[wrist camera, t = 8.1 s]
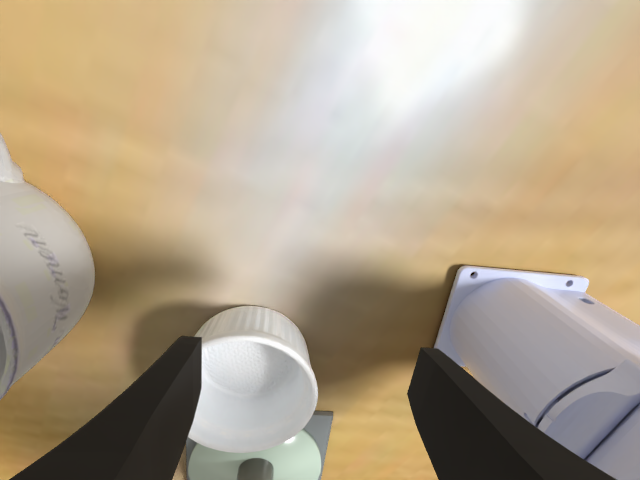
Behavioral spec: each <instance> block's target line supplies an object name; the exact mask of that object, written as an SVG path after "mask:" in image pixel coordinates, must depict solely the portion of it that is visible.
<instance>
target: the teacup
mask: <svg viewBox="0 0 640 480" xmlns="http://www.w3.org/2000/svg"><path fill="white" fill-rule="evenodd" d="M94 283H95V268H94V262H93V257H92V253H91V250H90V247H89V245H88V243H87V240H86V238H85V236H84V235H83V233H82V231H81V229H80V228H79V226H78V225H77V224H76V222H75V221H74V220H73V219H72V217H71V216H70V215H69V214H68V213H67V212H66V211H65V210H64V209H63V208H62V207H61V206H60V205H59V204H58V203H57V202H56V201H55V200H53V199H52V198H51V197H49V196H48V195H47V194H45V193H44V192H42V191H41V190H39V189H38V188H36V187H35V186H33V185H31V184H29V183H27V182H25V181H24V179H23V172H22V170H21V168H20V167H19V166H18V165H17V164H16V163H15V162H13V161H12V159H11V156H10V153H9V150H8V148H7V146H6V143H5V141H4V139H3V137H2V135H1V133H0V400H1V399H2V398H3V397H4V395H5V394H6V393H7V391H8V390H9V389H10V387H11V386H12V385H13V384H14V383H15V382H16V381H17V380H19V379H20V378H21V377H22V376H23V375H24V374H25V373H27V372H28V371H29V370H30V369H31V368H32V367H33V366H35V365H36V364H37V363H38V362H39V361H40V360H41V359H42V358H43V357H44V356H45V355H46V354H47V353H48V352H49V351H50V350H52V349H53V348H54V347H55V346H56V345H57V344H58V343H59V342H60V341H61V340H62V339H63V338H64V337H65V336H66V335H67V334H68V333H69V332H70V331H71V329H72V328H73V327H74V326H75V325H76V323H77V322H78V321H79V320H80V318H81V317H82V315H83V314H84V312H85V310H86V308H87V307H88V304H89V302H90V299H91V297H92V294H93V289H94Z"/></svg>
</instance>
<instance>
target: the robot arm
mask: <svg viewBox="0 0 640 480" xmlns="http://www.w3.org/2000/svg"><path fill="white" fill-rule="evenodd" d="M472 272H475V273H474V275H472V276H470V274H471V273H472ZM567 281H568V282H567ZM566 282H567V283H566ZM588 285H589V280H588V279H587V278H585V277H583V276H576V275H566V274H555V273H544V272H533V271H522V270H511V269H500V268H489V267H478V266H467V265H466V266H462V267H460V268H459V269H458V271H457V274H456V277H455V281H454V284H453V287H452V290H451V294H450V297H449V300H448V303H447V307H446V310H445V313H444V316H443V320H442V323H441V326H440V329H439V333H438V336H437V339H436V342H435V346H434V348H421V349H420V352H419V356H418V359H417V362H416V366H415V369H414V373H413V376H412V379H411V383H410V386H409V390H408V393H407V394H408V398H409V402H410V406H411V409H412V413H413V416H414V420H415V423H416V426H417V428H418V431H419V433H420V436H421V438H422V441H423V443H424V446H425V448H426V451H427V453H428V455H429V458H430V460H431V462H432V465H433V467H434V470H435V472H436V474H437V477H438V479H439V480H640V326H639V325H638V324H636V323H634V322H633V321H631V320H629V319H628V318H626V317H624V316H623V315H621V314H619V313H618V312H616V311H614V310H613V309H611V308H609V307H608V306H606V305H604V304H603V303H601V302H599V301H598V300H596V299H595V298H593V297H591V296H590V295H588V294H586V293H585V291H586V289H587V287H588ZM460 366H464V367H467V368H468V369H469V371H470V372H471V374H472V375H473V376H474V378H473V377H472V376H471V375H470V374H469V373H467V372H466V371H465V370H464V369H463V368H462V367H460ZM201 388H202V337H188V336H181V337H180V338H178V339H177V340H176V341H175V342H174V343H173V344H172V345H171V347H170V348H169V349H168V350H167V351H166V352H165V353H164V354H163V355H162V356H161V357H160V358H159V359H158V360H157V361H156V362H155V363H154V364H153V365H152V366H151V367H150V368H149V369H148V370H147V371H146V372H145V373H143V374H142V375H141V376H140V377H139V378H138V379H137V380H136V381H135V382H134V383H133V384H132V385H131V386H130V387H129V388H128V389H126V390H125V391H124V392H123V393H122V394H121V395H120V396H118V397H117V398H116V399H115V400H114V401H113V402H112V403H110V404H109V405H108V406H107V407H106V408H105V409H103V410H102V411H101V412H100V413H99V414H98V415H96V416H95V417H94V418H93V419H91V420H90V421H89V422H88V423H87V424H85V425H84V426H83V427H81V428H80V429H79V430H78V431H76V432H75V433H74V434H72V435H71V436H70V437H69V438H67V439H66V440H65V441H63V442H62V443H61V444H59V445H58V446H57V447H55V448H54V449H52V450H51V451H50V452H48V453H47V454H45V455H44V456H43V457H41V458H40V459H38V460H37V461H36V462H34V463H33V464H31V465H30V466H28V467H27V468H25V469H24V470H22V471H21V472H20V473H18V474H17V475H15V476H14V477H12V478H11V479H9V480H172V478H173V476H174V473H175V470H176V468H177V465H178V462H179V459H180V457H181V454H182V451H183V449H184V446H185V443H186V440H187V437H188V435H189V432H190V429H191V426H192V424H193V420H194V417H195V413H196V409H197V405H198V401H199V397H200V392H201Z"/></svg>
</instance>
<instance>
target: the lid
mask: <svg viewBox="0 0 640 480" xmlns="http://www.w3.org/2000/svg"><path fill="white" fill-rule="evenodd" d="M320 472H321V455H320V450H319V447H318V445H317V442H316V441H315V439H314V438H313V437H312V436H311V434H310V433H309V432H307V431H306V430H305V429H304V428H303V429H302V430H301V431H300V432H299V433H297V434H296V435H295V436H294V437H292V438H291V439H289V440H287V441H286V442H284V443H282V444H280V445H278V446H275V447H272V448H269V449H266V450H262V451H257V452H251V453H231V452H224V451H219V450H215V449H212V448H208V447H205V446H203V445H201V444H199V443H196V444H195V446H194V448H193V451H192V454H191V457H190V460H189V465H188V474H189V478H190V480H318V478H319V475H320Z"/></svg>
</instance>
